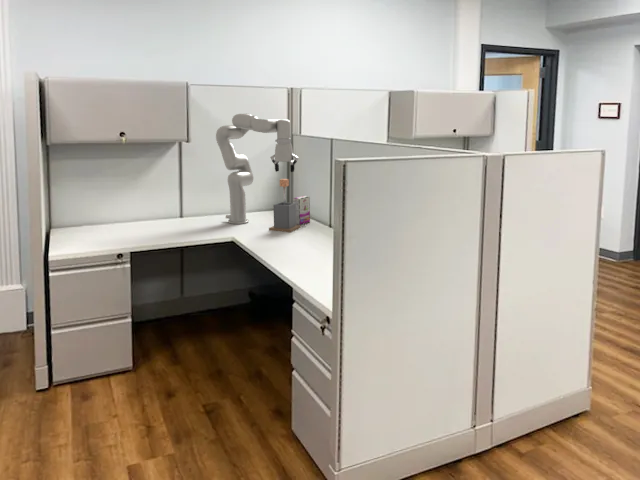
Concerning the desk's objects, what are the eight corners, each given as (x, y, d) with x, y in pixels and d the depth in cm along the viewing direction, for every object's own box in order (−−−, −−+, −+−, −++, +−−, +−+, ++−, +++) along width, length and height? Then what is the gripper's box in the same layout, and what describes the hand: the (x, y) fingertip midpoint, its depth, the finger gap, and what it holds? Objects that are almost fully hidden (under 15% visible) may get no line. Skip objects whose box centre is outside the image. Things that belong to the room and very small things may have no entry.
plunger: (276, 212, 349) (275, 179, 345) (281, 210, 356) (281, 178, 352) (287, 213, 347) (287, 180, 342) (293, 211, 353) (292, 178, 349)
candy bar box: (303, 221, 377) (303, 195, 373) (310, 222, 374) (310, 196, 371) (293, 224, 368) (292, 197, 364) (299, 225, 365) (299, 198, 361)
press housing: (269, 230, 350) (268, 205, 347) (279, 226, 363) (279, 201, 359) (290, 232, 345) (290, 206, 341) (300, 227, 357) (300, 202, 354)
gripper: (267, 141, 342) (268, 171, 346) (294, 142, 336) (295, 172, 339) (273, 141, 349) (274, 170, 353) (300, 141, 342) (301, 171, 346)
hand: (284, 171), depth 346 cm, fingers open, 9 cm apart
